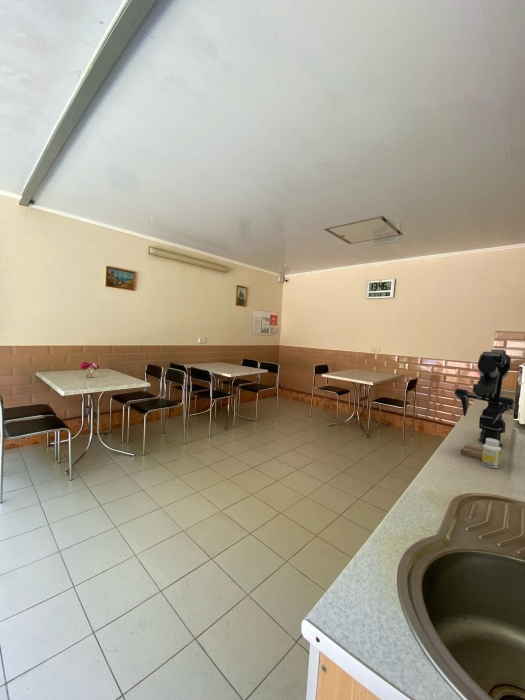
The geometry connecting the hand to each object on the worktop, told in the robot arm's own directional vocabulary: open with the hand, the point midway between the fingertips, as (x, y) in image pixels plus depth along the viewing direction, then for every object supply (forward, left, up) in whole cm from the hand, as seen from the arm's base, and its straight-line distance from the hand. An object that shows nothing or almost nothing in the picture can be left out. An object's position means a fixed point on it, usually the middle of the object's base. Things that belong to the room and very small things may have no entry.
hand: (478, 419), depth 115 cm
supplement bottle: (-3, +4, -16) cm, 17 cm away
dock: (-4, -7, -16) cm, 18 cm away
